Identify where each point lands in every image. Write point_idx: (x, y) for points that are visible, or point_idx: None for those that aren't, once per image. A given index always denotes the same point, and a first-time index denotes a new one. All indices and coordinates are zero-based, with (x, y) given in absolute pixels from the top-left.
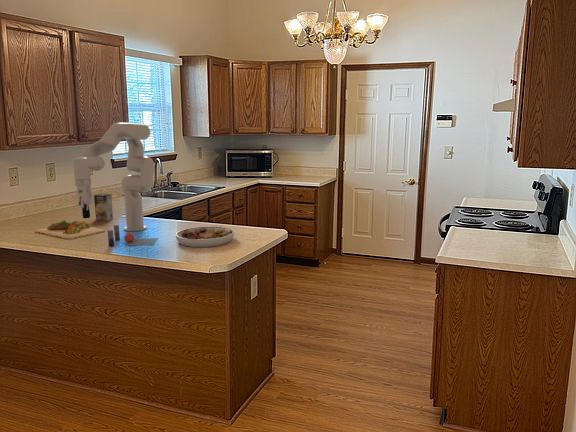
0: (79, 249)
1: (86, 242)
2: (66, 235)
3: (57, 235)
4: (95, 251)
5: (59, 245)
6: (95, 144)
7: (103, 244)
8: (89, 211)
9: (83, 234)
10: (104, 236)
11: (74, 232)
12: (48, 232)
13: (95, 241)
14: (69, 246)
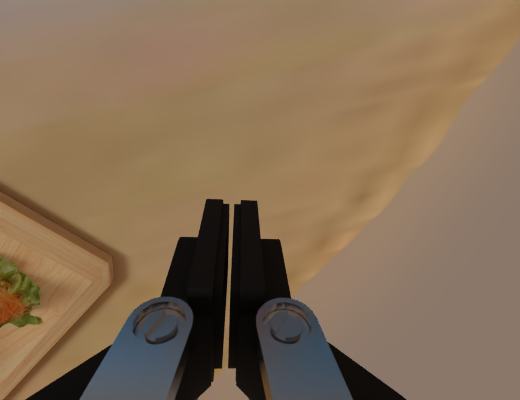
0: (381, 153)
1: (201, 155)
2: (79, 296)
3: (64, 333)
4: (488, 27)
5: None
6: None
7: (285, 6)
8: (212, 261)
9: (20, 219)
10: (5, 61)
11: (11, 276)
12: (13, 378)
13: (177, 98)
14: (287, 224)
